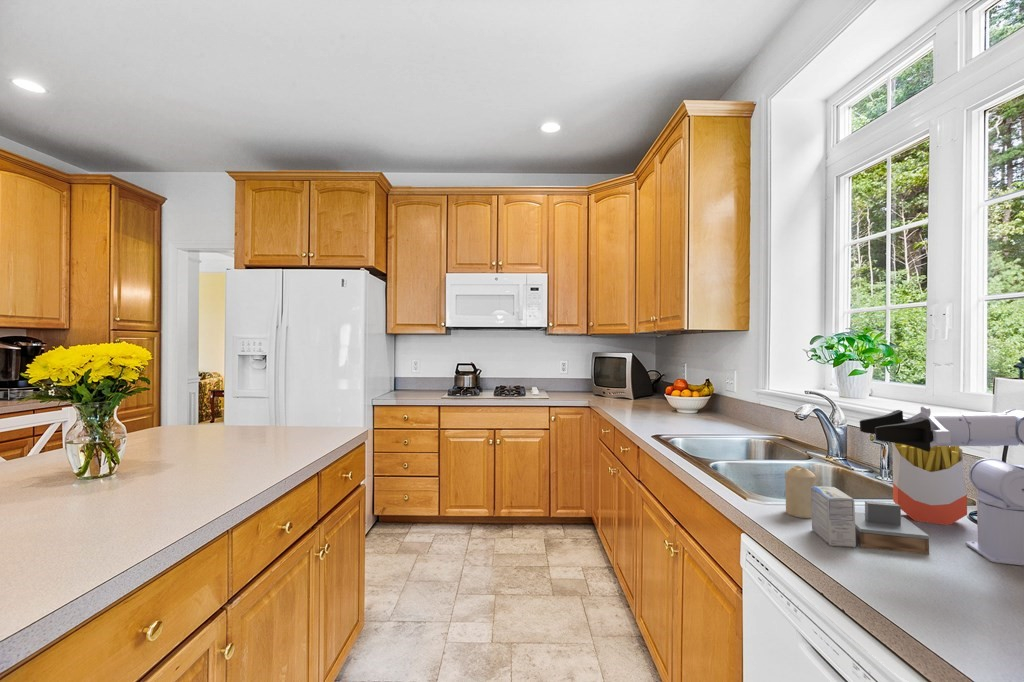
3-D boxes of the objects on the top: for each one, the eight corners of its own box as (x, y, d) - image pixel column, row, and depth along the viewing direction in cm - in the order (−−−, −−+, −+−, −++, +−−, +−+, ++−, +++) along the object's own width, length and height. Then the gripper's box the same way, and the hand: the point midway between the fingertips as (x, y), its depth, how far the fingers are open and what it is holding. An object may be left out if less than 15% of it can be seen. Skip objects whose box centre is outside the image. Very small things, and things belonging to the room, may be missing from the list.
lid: (903, 523, 93) (903, 498, 93) (929, 543, 83) (928, 515, 83) (842, 517, 96) (842, 493, 96) (860, 536, 87) (860, 509, 87)
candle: (822, 518, 101) (821, 470, 101) (796, 519, 101) (796, 470, 101) (804, 509, 107) (803, 463, 107) (780, 510, 106) (779, 464, 106)
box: (903, 533, 93) (903, 519, 93) (929, 554, 83) (929, 539, 83) (842, 527, 96) (842, 514, 96) (860, 547, 87) (860, 533, 87)
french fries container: (968, 528, 95) (966, 435, 95) (898, 519, 100) (897, 431, 100) (959, 520, 99) (958, 432, 100) (893, 512, 104) (892, 428, 105)
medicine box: (856, 548, 86) (855, 499, 86) (828, 546, 87) (827, 497, 87) (836, 531, 94) (835, 486, 94) (810, 530, 95) (810, 485, 95)
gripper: (937, 401, 92) (853, 403, 96) (982, 412, 78) (881, 413, 82) (940, 438, 91) (855, 438, 96) (986, 456, 78) (884, 455, 82)
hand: (867, 429), depth 89 cm, fingers open, 7 cm apart
